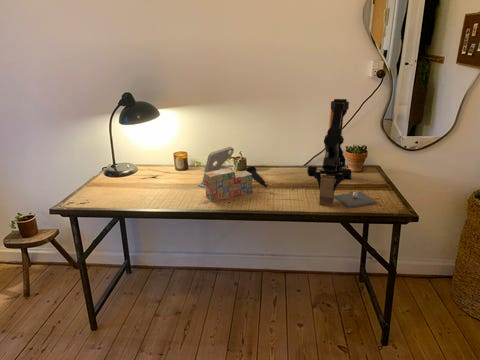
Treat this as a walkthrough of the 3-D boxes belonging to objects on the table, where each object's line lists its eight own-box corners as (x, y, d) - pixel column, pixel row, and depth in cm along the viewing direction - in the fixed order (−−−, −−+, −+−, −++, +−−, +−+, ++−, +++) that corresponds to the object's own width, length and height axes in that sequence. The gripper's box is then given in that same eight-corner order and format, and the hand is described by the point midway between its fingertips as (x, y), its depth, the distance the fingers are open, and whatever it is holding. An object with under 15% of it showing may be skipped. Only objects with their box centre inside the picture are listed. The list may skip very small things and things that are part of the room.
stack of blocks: (246, 188, 194) (246, 164, 189) (252, 192, 189) (252, 168, 184) (205, 197, 185) (204, 172, 181) (210, 202, 180) (209, 176, 175)
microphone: (268, 191, 197) (251, 174, 213) (272, 181, 195) (254, 164, 211) (259, 190, 195) (242, 173, 211) (263, 180, 193) (246, 163, 209)
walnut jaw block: (320, 199, 179) (322, 174, 175) (333, 201, 177) (335, 175, 173) (319, 205, 174) (320, 179, 170) (332, 206, 172) (333, 180, 168)
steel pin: (355, 197, 178) (356, 190, 177) (358, 199, 176) (358, 191, 175) (351, 198, 178) (352, 190, 176) (354, 199, 176) (354, 192, 175)
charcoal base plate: (360, 193, 185) (360, 191, 184) (376, 203, 174) (376, 201, 174) (333, 197, 181) (334, 195, 180) (348, 208, 170) (348, 206, 170)
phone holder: (221, 175, 211) (220, 142, 204) (235, 180, 204) (234, 146, 198) (196, 185, 199) (194, 150, 192) (211, 190, 192) (209, 154, 186)
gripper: (308, 148, 173) (303, 180, 168) (353, 151, 168) (349, 185, 162) (310, 159, 183) (305, 191, 178) (352, 163, 178) (349, 195, 172)
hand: (326, 190), depth 172 cm, fingers closed on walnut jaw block, 6 cm apart
